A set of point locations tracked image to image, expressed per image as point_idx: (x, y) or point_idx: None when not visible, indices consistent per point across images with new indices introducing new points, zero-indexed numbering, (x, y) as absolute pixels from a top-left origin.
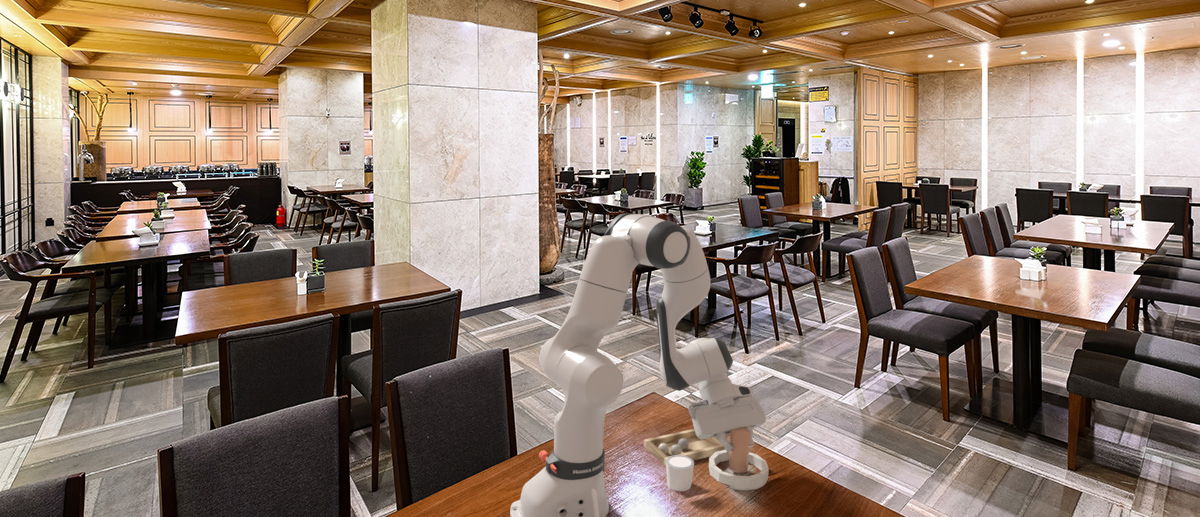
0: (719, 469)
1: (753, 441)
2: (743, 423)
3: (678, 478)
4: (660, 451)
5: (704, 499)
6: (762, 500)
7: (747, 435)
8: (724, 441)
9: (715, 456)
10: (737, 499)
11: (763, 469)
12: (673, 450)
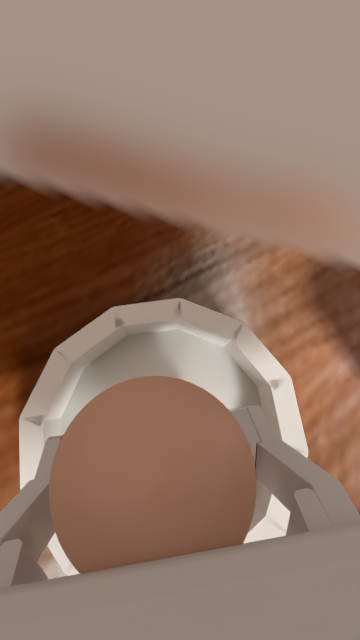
0: (279, 405)
1: (43, 451)
2: (35, 626)
3: None
4: None
5: (357, 309)
6: (167, 253)
7: (129, 379)
8: (299, 459)
9: (247, 540)
10: (246, 280)
11: (80, 350)
12: None
